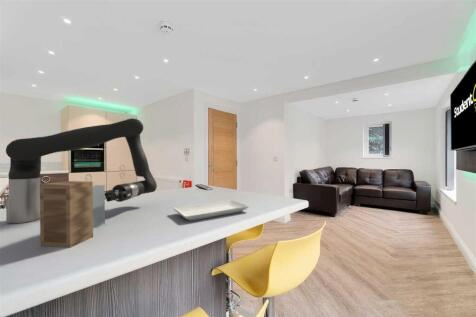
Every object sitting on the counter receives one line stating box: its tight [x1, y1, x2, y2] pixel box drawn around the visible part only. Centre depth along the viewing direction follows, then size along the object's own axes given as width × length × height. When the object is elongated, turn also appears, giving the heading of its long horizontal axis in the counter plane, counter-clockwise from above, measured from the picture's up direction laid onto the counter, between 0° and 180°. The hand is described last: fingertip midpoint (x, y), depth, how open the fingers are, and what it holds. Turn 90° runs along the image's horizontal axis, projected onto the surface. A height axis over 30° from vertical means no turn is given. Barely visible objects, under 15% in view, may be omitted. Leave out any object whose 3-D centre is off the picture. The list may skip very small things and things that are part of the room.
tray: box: [172, 199, 250, 221], centre depth 98 cm, size 17×31×4 cm, turn 123°
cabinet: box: [39, 180, 94, 248], centre depth 68 cm, size 12×12×18 cm
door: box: [93, 184, 106, 229], centre depth 78 cm, size 12×3×15 cm, turn 171°
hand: (97, 198), depth 82 cm, fingers open, 8 cm apart
